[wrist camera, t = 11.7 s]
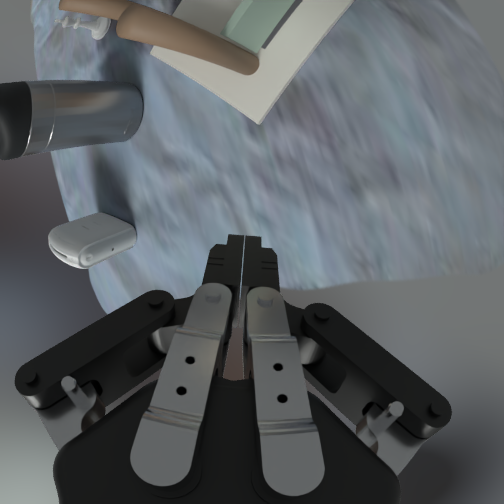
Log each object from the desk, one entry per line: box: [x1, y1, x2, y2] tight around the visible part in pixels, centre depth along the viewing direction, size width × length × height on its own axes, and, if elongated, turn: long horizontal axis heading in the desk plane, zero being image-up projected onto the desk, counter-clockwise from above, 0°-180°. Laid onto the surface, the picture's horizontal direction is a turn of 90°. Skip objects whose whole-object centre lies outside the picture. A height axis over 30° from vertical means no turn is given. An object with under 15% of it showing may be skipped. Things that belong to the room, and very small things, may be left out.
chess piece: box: [55, 16, 111, 40], centre depth 30 cm, size 5×5×10 cm
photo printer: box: [48, 213, 137, 269], centre depth 41 cm, size 10×4×12 cm, turn 80°
